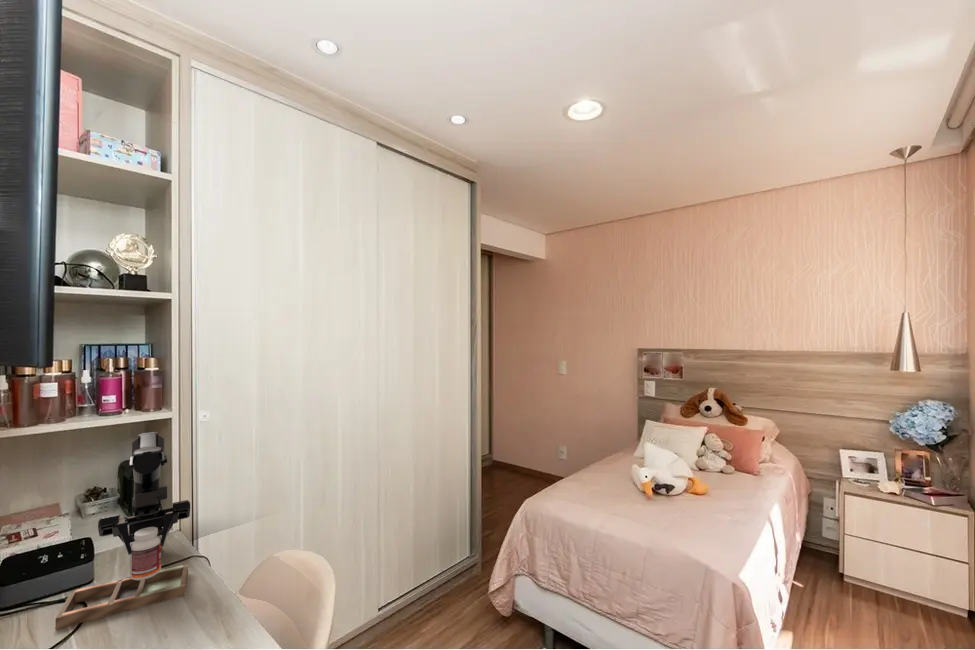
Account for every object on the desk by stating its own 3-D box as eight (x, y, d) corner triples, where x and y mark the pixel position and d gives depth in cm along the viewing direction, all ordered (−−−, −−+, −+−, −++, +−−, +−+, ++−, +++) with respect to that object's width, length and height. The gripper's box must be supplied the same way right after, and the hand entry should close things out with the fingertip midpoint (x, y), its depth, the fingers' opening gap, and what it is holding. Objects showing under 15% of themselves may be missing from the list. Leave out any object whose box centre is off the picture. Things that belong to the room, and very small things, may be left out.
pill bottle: (165, 571, 111) (166, 529, 111) (137, 584, 106) (137, 539, 106) (154, 564, 114) (154, 523, 114) (125, 576, 109) (125, 533, 109)
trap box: (55, 629, 98) (55, 617, 98) (70, 602, 107) (70, 591, 107) (184, 595, 110) (184, 584, 110) (188, 574, 120) (188, 563, 120)
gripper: (98, 485, 107) (93, 549, 99) (190, 470, 118) (192, 526, 110) (102, 506, 114) (97, 567, 105) (188, 489, 125) (190, 543, 116)
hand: (146, 550), depth 109 cm, fingers closed on pill bottle, 6 cm apart
